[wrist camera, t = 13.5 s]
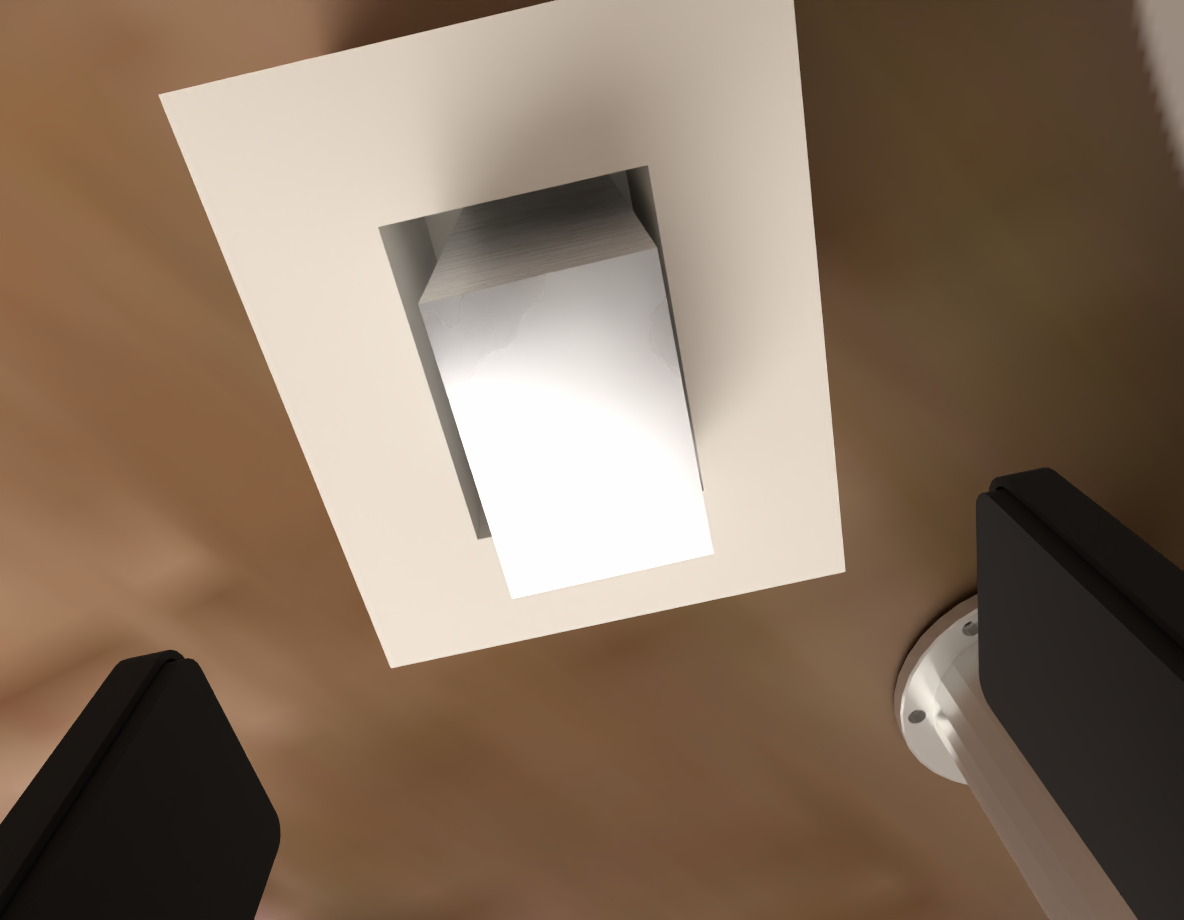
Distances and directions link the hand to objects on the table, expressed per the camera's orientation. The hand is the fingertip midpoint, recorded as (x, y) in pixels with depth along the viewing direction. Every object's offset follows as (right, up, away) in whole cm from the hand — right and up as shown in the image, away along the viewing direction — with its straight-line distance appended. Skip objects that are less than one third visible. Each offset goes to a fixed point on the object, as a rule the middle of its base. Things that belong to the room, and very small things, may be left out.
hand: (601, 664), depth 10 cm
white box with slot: (-2, +10, +21) cm, 24 cm away
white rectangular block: (-1, +7, +14) cm, 16 cm away
